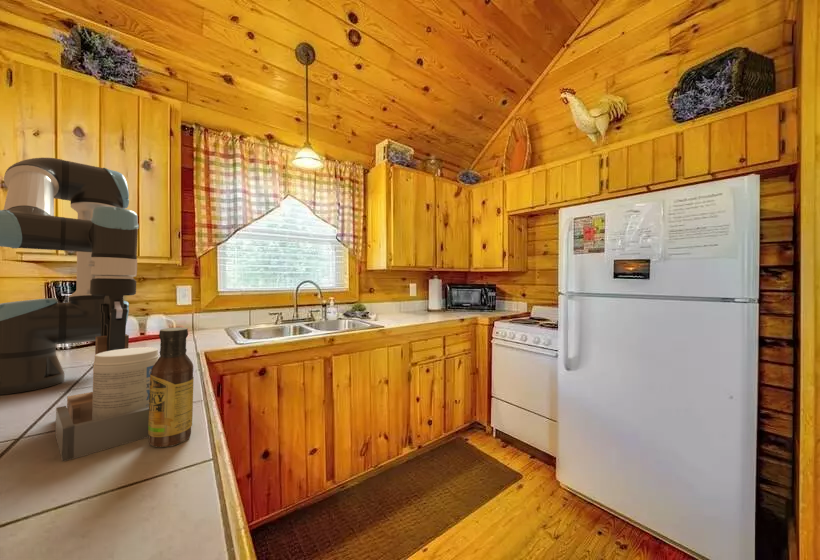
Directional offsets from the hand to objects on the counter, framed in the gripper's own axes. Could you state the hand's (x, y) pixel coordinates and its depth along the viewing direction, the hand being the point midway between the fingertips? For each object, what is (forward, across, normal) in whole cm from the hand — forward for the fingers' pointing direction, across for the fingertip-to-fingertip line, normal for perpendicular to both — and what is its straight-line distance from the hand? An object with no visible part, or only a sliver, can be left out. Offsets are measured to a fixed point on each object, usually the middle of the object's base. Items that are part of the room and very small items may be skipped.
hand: (111, 383), depth 71 cm
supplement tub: (+6, +15, 0) cm, 16 cm away
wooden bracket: (+6, +4, 0) cm, 7 cm away
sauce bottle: (+6, +28, +4) cm, 29 cm away
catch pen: (+5, +16, 0) cm, 17 cm away
